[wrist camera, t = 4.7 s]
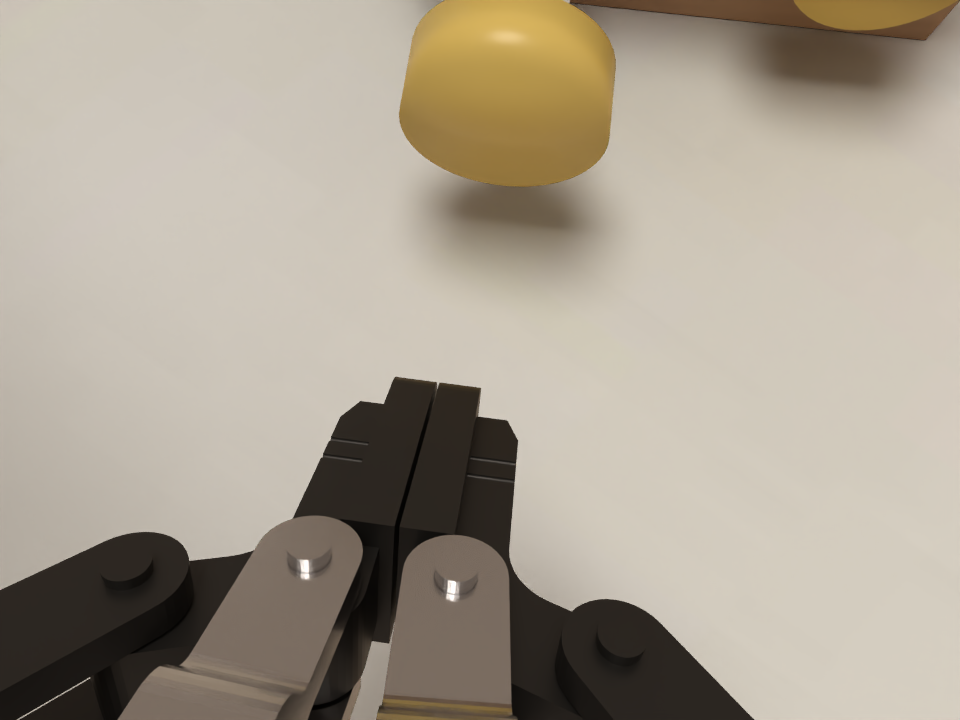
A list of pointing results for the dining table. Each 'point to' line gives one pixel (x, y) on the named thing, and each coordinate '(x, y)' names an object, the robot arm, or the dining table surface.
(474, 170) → the knob
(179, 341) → the dining table surface
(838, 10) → the block
